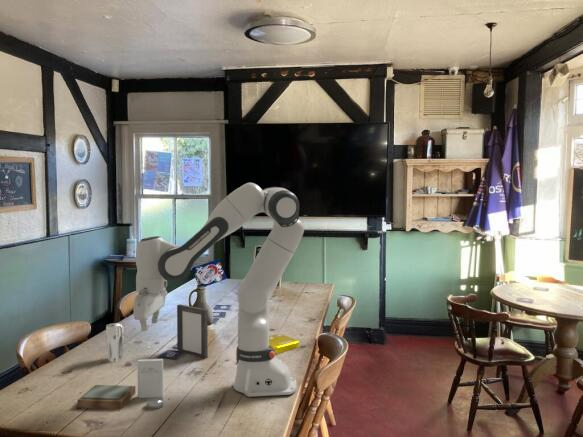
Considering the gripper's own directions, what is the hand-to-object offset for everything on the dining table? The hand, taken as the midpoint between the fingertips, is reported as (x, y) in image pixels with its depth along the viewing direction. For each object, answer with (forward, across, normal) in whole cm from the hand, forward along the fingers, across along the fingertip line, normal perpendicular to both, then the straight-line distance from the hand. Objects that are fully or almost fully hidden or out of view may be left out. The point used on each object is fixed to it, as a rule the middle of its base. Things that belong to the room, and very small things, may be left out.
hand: (149, 326), depth 160 cm
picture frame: (+24, +40, -4) cm, 47 cm away
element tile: (+24, +53, -38) cm, 70 cm away
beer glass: (+24, +32, +26) cm, 47 cm away
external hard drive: (+24, 0, 0) cm, 24 cm away
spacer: (+24, -7, -4) cm, 25 cm away
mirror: (+24, -4, +13) cm, 27 cm away
